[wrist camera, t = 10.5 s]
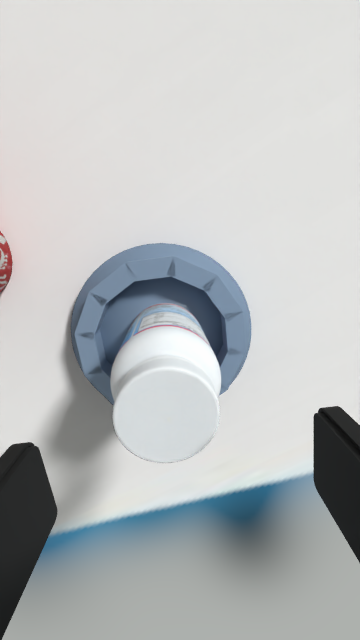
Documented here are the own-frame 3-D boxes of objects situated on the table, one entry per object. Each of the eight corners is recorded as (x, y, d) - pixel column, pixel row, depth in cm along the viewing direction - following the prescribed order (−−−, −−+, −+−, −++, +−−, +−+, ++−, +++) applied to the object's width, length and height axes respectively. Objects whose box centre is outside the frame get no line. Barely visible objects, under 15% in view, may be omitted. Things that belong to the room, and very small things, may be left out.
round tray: (241, 232, 21) (253, 229, 18) (251, 396, 25) (262, 414, 22) (57, 256, 21) (39, 257, 18) (95, 418, 25) (86, 439, 22)
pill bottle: (164, 383, 23) (163, 501, 12) (114, 335, 22) (61, 418, 11) (217, 338, 22) (266, 421, 11) (168, 285, 21) (170, 320, 10)
